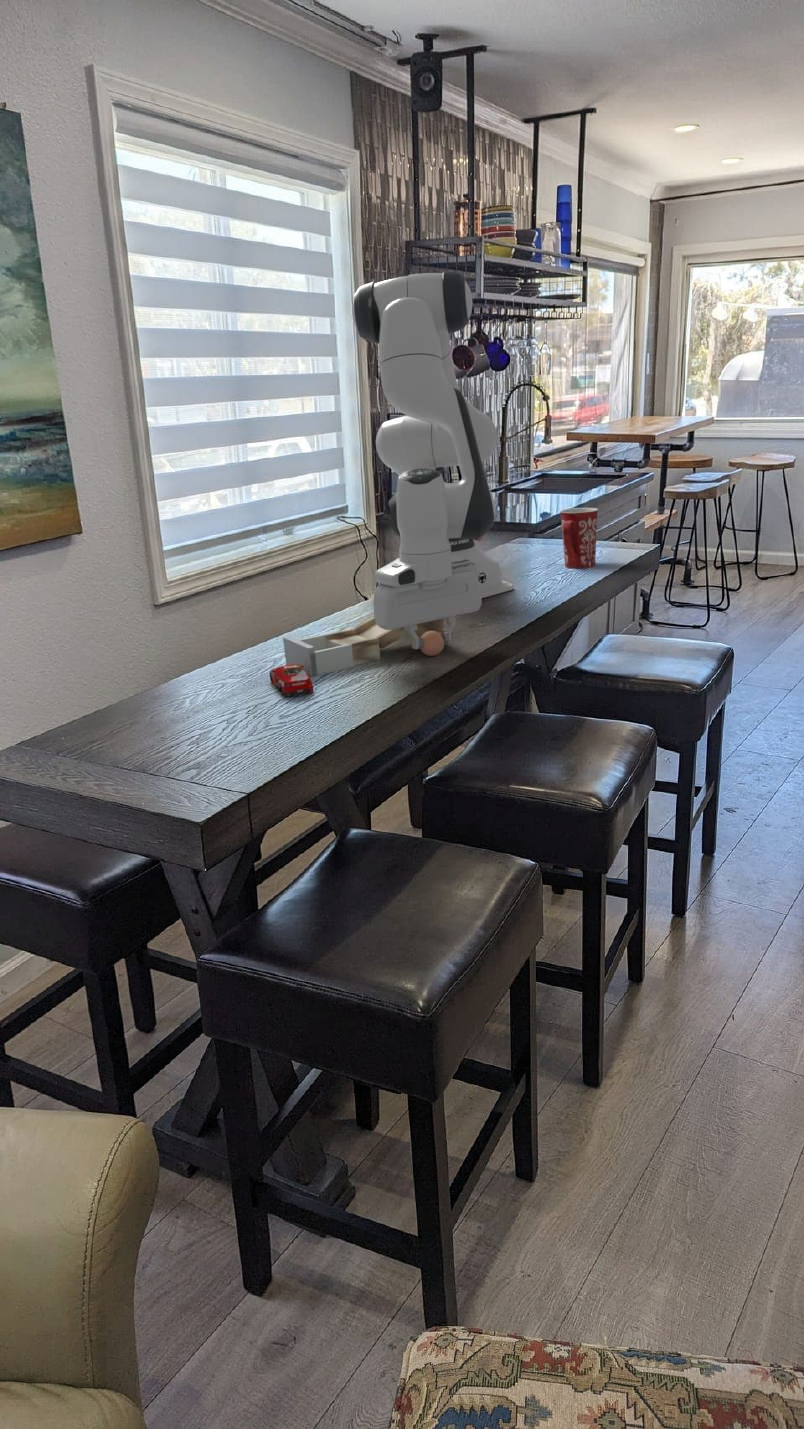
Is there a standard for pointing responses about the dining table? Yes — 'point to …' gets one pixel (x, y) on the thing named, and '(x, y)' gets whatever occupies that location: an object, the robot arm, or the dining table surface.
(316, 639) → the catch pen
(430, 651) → the ball
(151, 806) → the dining table surface
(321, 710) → the dining table surface
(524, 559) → the dining table surface
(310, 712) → the dining table surface
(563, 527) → the mug
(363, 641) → the ramp
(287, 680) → the race car
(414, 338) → the robot arm
